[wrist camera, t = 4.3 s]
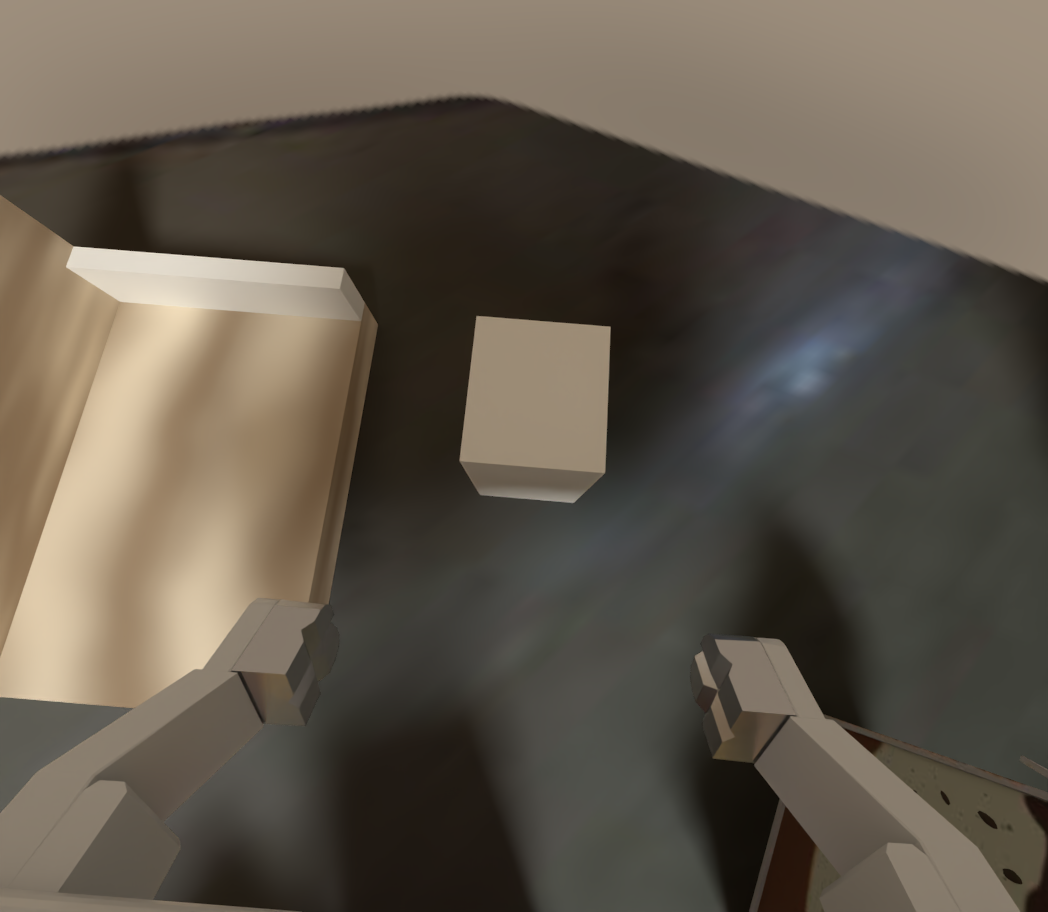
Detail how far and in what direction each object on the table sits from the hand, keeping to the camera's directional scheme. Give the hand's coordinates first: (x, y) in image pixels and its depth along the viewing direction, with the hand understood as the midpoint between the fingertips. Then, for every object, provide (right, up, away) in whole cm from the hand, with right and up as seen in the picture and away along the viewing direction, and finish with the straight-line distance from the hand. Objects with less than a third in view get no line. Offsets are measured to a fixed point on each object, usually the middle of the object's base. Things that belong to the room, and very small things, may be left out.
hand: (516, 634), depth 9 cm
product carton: (0, +4, +12) cm, 12 cm away
